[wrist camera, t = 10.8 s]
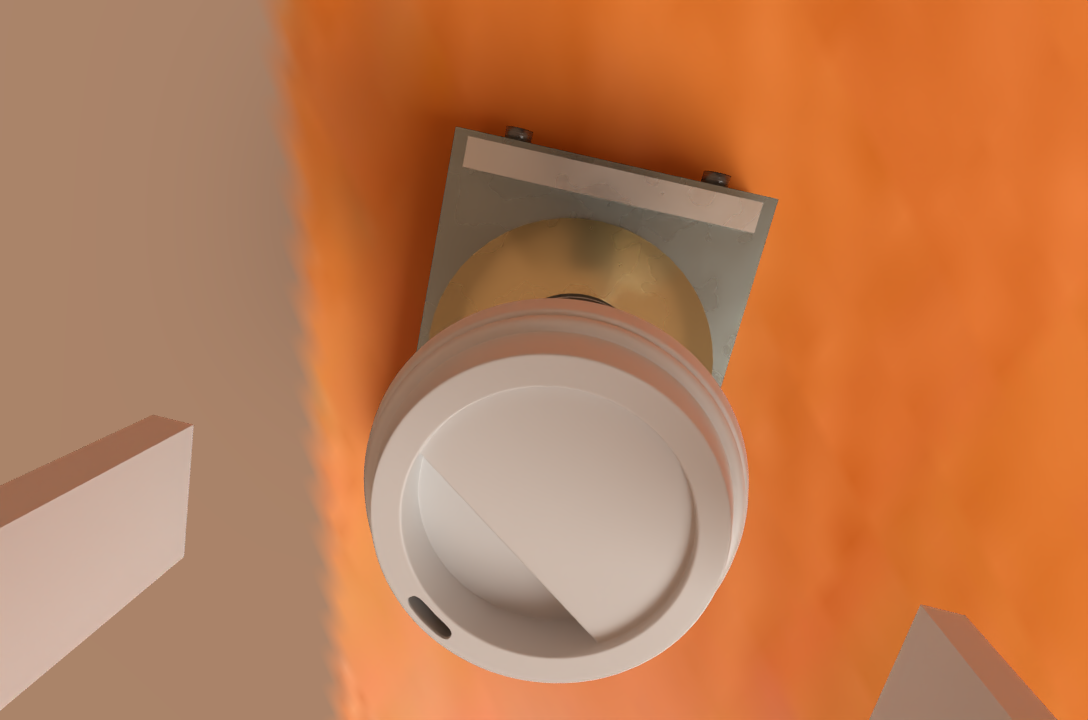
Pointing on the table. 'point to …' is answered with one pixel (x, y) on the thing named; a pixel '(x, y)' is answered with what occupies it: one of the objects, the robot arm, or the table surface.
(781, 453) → the table surface
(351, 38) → the table surface
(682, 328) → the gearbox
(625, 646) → the coffee cup
